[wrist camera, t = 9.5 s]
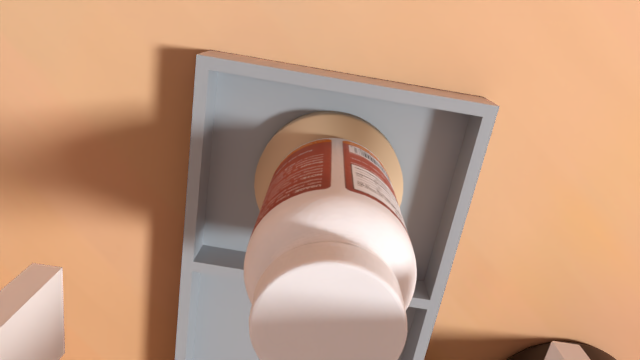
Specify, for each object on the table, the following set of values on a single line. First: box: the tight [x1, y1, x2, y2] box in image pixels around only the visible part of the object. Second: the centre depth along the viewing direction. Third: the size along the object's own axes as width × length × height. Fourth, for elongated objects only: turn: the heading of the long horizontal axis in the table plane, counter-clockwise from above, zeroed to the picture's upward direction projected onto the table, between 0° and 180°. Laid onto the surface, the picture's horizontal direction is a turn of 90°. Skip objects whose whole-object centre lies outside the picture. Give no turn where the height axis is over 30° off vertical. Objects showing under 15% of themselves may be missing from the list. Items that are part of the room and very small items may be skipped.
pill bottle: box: [244, 138, 417, 360], centre depth 19 cm, size 6×6×11 cm
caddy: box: [175, 50, 499, 360], centre depth 26 cm, size 14×22×2 cm, turn 171°
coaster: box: [254, 111, 403, 210], centre depth 25 cm, size 8×8×1 cm
